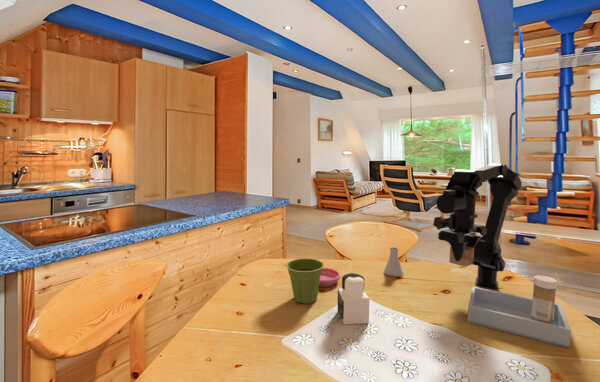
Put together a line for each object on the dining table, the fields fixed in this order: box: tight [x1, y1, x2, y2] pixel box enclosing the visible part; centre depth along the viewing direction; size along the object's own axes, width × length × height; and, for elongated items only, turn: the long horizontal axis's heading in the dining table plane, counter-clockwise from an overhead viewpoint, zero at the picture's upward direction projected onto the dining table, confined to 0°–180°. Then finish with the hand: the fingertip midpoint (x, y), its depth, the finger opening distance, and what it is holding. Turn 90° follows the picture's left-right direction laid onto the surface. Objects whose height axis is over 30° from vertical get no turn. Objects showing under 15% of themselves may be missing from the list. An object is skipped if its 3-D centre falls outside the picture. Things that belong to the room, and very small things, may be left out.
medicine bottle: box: [337, 272, 370, 325], centre depth 82 cm, size 7×7×12 cm
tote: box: [466, 286, 572, 349], centre depth 80 cm, size 15×21×4 cm
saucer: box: [319, 267, 341, 288], centre depth 107 cm, size 12×12×3 cm
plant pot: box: [285, 257, 325, 305], centre depth 93 cm, size 12×12×11 cm
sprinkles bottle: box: [531, 274, 558, 325], centre depth 75 cm, size 5×5×13 cm
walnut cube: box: [449, 246, 474, 268], centre depth 94 cm, size 5×5×5 cm
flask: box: [383, 246, 404, 278], centre depth 114 cm, size 7×7×10 cm
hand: (461, 259), depth 94 cm, fingers closed on walnut cube, 5 cm apart
